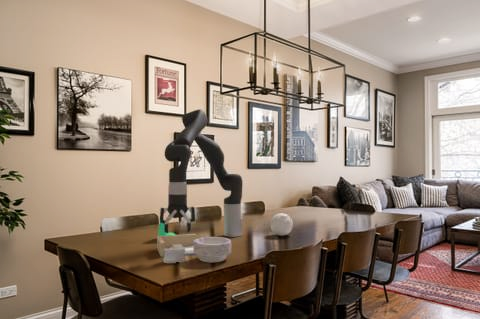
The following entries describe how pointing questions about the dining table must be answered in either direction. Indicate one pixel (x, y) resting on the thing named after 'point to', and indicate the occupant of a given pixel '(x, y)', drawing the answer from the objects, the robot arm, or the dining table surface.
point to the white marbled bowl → (212, 248)
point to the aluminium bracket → (174, 254)
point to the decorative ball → (281, 224)
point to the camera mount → (161, 230)
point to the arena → (171, 240)
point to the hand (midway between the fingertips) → (177, 232)
